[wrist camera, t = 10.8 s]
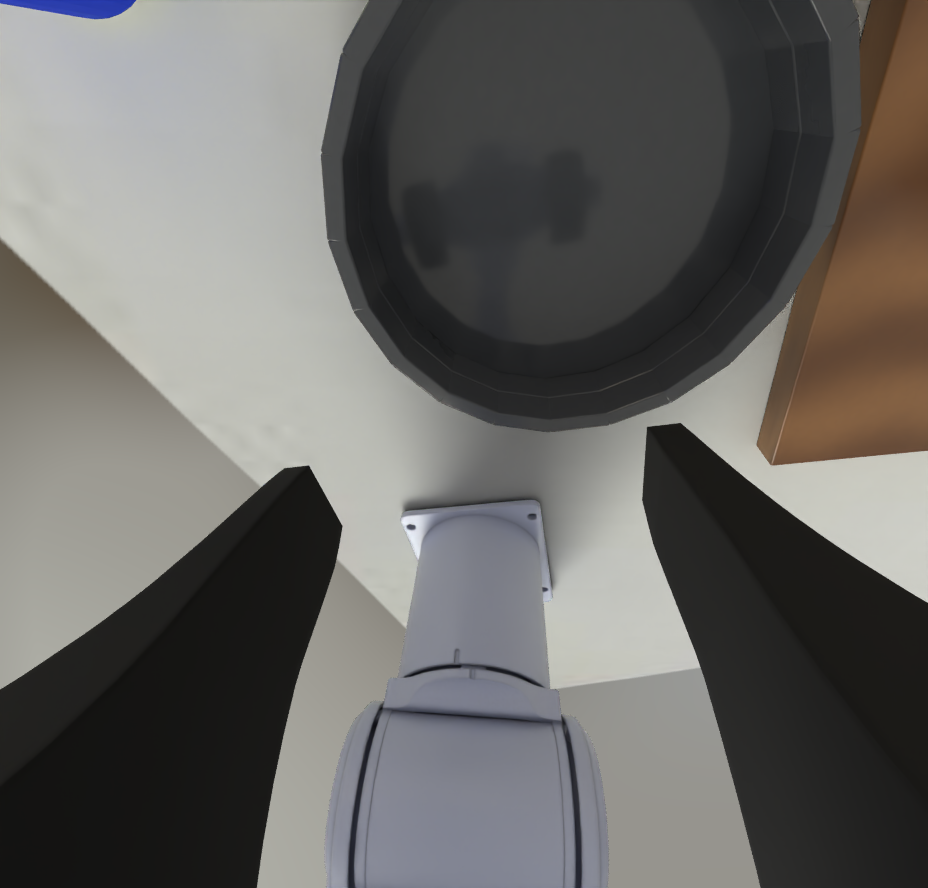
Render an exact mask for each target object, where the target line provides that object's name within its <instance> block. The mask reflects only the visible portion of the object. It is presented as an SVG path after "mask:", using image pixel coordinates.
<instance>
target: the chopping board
mask: <svg viewBox="0 0 928 888" xmlns="http://www.w3.org/2000/svg"><path fill="white" fill-rule="evenodd" d="M860 81H861V122H862V125H861V127H860V129H861V132H860V135H859V139H858V142H857V146H856V149H855V153H854V156H853V160H852V163H851V167H850V170H849V174H848V177H847V181H846V184H845V188H844V191H843V195H842V199H841V202H840V206H839V209H838V213H837V216H836V220H835V223H834V225H832V226H833V227H832V230H831V231H830V233H829V235H828V236H827V238H826V240H825V241H824V243H823V245H822V247H821V248H820V250H819V252H818V253H817V255H816V257H815V258H814V260H813V262H812V263H811V265H810V267H809V269H808V270H807V272H806V274H805V275H804V277H803V279H802V280H801V282H800V284H799V286H798V287H797V291H796V295H795V298H794V302H793V306H792V310H791V314H790V318H789V322H788V326H787V329H786V333H785V337H784V341H783V345H782V349H781V353H780V357H779V360H778V364H777V368H776V372H775V376H774V380H773V384H772V388H771V392H770V395H769V399H768V403H767V407H766V411H765V415H764V419H763V423H762V426H761V430H760V434H759V438H758V442H757V447H758V448H759V450H760V451H761V452H762V454H763V455H764V457H765V458H766V459H767V461H768V462H769V464H770V465H783V464H793V463H803V462H814V461H824V460H835V459H845V458H855V457H866V456H876V455H887V454H897V453H908V452H918V451H928V0H871V4H870V7H869V11H868V15H867V19H866V23H865V27H864V31H863V35H862V38H861V42H860Z"/></svg>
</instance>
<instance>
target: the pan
mask: <svg viewBox="0 0 928 888" xmlns="http://www.w3.org/2000/svg"><path fill="white" fill-rule="evenodd" d="M858 17H859V15H858V13H857V10H856V8H855V6H854V3H853V1H852V0H369V1H368V3H367V5H366V6H365V8H364V10H363V12H362V14H361V16H360V18H359V19H358V21H357V23H356V25H355V27H354V29H353V30H352V32H351V34H350V36H349V38H348V40H347V42H346V43H345V45H344V47H343V53H341V55H340V60H339V65H338V70H337V75H336V80H335V85H334V90H333V95H332V100H331V104H330V109H329V114H328V119H327V124H326V129H325V134H324V139H323V144H322V148H321V151H322V154H321V163H322V176H323V189H324V202H325V215H326V228H327V239H328V240H329V241H328V243H329V246H330V249H331V251H332V254H333V257H334V260H335V262H336V265H337V268H338V271H339V273H340V276H341V279H342V281H343V284H344V287H345V290H346V292H347V295H348V298H349V300H350V303H351V306H352V309H353V311H354V313H355V315H356V316H357V318H358V319H359V320H360V322H361V323H362V324H363V326H364V327H365V329H366V330H367V331H368V333H369V334H370V335H371V337H372V338H373V340H374V341H375V342H376V344H377V345H378V346H379V348H380V349H381V351H382V352H383V353H384V355H385V356H386V357H387V359H388V360H389V362H390V363H391V364H392V365H393V366H394V367H395V368H396V369H398V370H399V371H400V372H402V373H403V374H404V375H405V376H407V377H408V378H409V379H410V380H412V381H413V382H414V383H416V384H417V385H418V386H419V387H421V388H422V389H423V390H424V391H426V392H427V393H428V394H430V395H431V396H432V397H433V398H435V399H436V400H437V401H438V402H441V403H442V404H445V405H447V406H449V407H452V408H454V409H457V410H459V411H461V412H464V413H466V414H469V415H471V416H474V417H476V418H478V419H481V420H483V421H486V422H488V423H490V424H493V425H498V426H506V427H513V428H521V429H528V430H536V431H543V432H556V431H564V430H573V429H581V428H590V427H598V426H607V425H609V424H610V425H611V424H614V423H617V422H620V421H622V420H625V419H628V418H630V417H633V416H636V415H639V414H641V413H644V412H647V411H649V410H652V409H655V408H658V407H660V406H663V405H666V404H668V403H670V402H673V401H674V400H676V399H678V398H679V397H681V396H682V395H684V394H685V393H687V392H688V391H690V390H691V389H693V388H694V387H696V386H697V385H699V384H700V383H702V382H703V381H705V380H707V379H708V378H710V377H711V376H713V375H714V374H716V373H717V372H719V371H720V370H722V369H723V368H725V367H726V366H728V365H729V364H730V362H733V361H734V360H735V358H736V357H737V356H738V355H739V354H740V353H741V352H742V351H743V350H744V349H745V348H746V347H747V346H748V345H749V344H750V343H751V342H752V341H753V340H754V339H755V338H756V337H757V336H758V335H759V333H760V332H761V331H762V330H763V329H764V328H765V327H766V326H767V325H768V324H769V323H770V322H771V321H772V320H773V319H774V318H775V317H776V316H777V315H778V314H779V313H780V312H781V311H782V310H783V309H784V307H785V306H786V304H787V303H788V302H789V301H790V299H791V297H792V296H793V294H794V292H795V291H796V289H797V287H798V286H799V284H800V282H801V280H802V279H803V277H804V275H805V274H806V272H807V270H808V269H809V267H810V265H811V263H812V262H813V260H814V258H815V257H816V255H817V253H818V252H819V250H820V248H821V247H822V245H823V243H824V241H825V240H826V238H827V236H828V235H829V233H830V231H831V230H832V227H833V226H832V225H834V223H835V220H836V216H837V213H838V209H839V206H840V202H841V199H842V195H843V191H844V188H845V184H846V181H847V177H848V174H849V170H850V167H851V163H852V160H853V156H854V153H855V149H856V146H857V142H858V139H859V135H860V132H861V129H860V127H861V125H862V122H861V81H860V40H859V20H858V19H857V18H858Z"/></svg>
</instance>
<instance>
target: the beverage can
mask: <svg viewBox="0 0 928 888" xmlns="http://www.w3.org/2000/svg"><path fill="white" fill-rule="evenodd" d="M135 1H136V0H0V3H2V4H7V5H13V6H19V7H25V8H30V9H36V10H42V11H48V12H53V13H59V14H65V15H71V16H76V17H82V18H90V19H104V18H110V17H113V16H116V15H119V14H121V13H122V12H124V11H125V10H127V9H128V8H129V7H131V6H132V5H133V3H134V2H135Z"/></svg>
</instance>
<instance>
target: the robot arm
mask: <svg viewBox="0 0 928 888" xmlns="http://www.w3.org/2000/svg"><path fill="white" fill-rule="evenodd" d="M642 501H643V505H644V509H645V513H646V517H647V521H648V525H649V529H650V533H651V537H652V541H653V544H654V547H655V550H656V553H657V555H658V558H659V560H660V563H661V566H662V568H663V571H664V573H665V576H666V578H667V581H668V584H669V586H670V589H671V591H672V594H673V596H674V599H675V601H676V604H677V607H678V609H679V612H680V614H681V617H682V619H683V622H684V624H685V627H686V629H687V632H688V635H689V637H690V640H691V642H692V645H693V647H694V650H695V652H696V655H697V658H698V661H699V664H700V667H701V670H702V673H703V675H704V678H705V682H706V685H707V689H708V692H709V696H710V699H711V702H712V706H713V710H714V713H715V717H716V720H717V723H718V727H719V731H720V734H721V738H722V741H723V745H724V749H725V752H726V756H727V760H728V763H729V767H730V771H731V774H732V778H733V781H734V785H735V789H736V793H737V796H738V800H739V804H740V808H741V812H742V816H743V819H744V823H745V827H746V831H747V835H748V839H749V843H750V847H751V851H752V855H753V859H754V862H755V866H756V870H757V874H758V879H759V883H760V887H761V888H928V603H927V602H925V601H924V600H922V599H920V598H918V597H917V596H915V595H913V594H912V593H910V592H908V591H907V590H905V589H904V588H902V587H900V586H899V585H897V584H895V583H894V582H892V581H891V580H889V579H887V578H886V577H884V576H883V575H881V574H879V573H878V572H876V571H875V570H873V569H871V568H870V567H868V566H867V565H865V564H863V563H862V562H860V561H859V560H857V559H855V558H854V557H852V556H851V555H849V554H848V553H846V552H845V551H843V550H842V549H840V548H839V547H837V546H836V545H834V544H833V543H831V542H830V541H829V540H827V539H826V538H824V537H823V536H821V535H820V534H819V533H817V532H816V531H814V530H813V529H812V528H810V527H809V526H807V525H806V524H805V523H803V522H802V521H800V520H799V519H798V518H796V517H795V516H794V515H792V514H791V513H790V512H788V511H787V510H786V509H784V508H783V507H782V506H780V505H779V504H778V503H776V502H775V501H774V500H772V499H771V498H770V497H769V496H767V495H766V494H765V493H764V492H762V491H761V490H760V489H759V488H757V487H756V486H755V485H753V484H752V483H751V482H750V481H748V480H747V479H746V478H745V477H743V476H742V475H741V474H740V473H739V472H737V471H736V470H735V469H734V468H733V467H731V466H730V465H729V464H728V463H727V462H725V461H724V460H723V459H722V458H721V457H720V456H718V455H717V454H716V453H715V452H714V451H713V450H711V449H710V448H709V447H708V446H707V445H706V444H704V443H703V442H702V441H701V440H700V439H699V438H697V437H696V436H695V435H694V434H693V433H692V432H691V431H689V430H688V429H687V428H686V427H685V426H683V425H682V424H681V423H678V424H669V425H660V426H652V427H647V436H646V451H645V466H644V482H643V497H642ZM530 514H533V515H530ZM401 523H402V525H403V528H404V530H405V532H406V535H407V537H408V539H409V542H410V544H411V546H412V549H413V551H414V553H415V556H416V558H417V560H418V567H417V572H416V578H415V583H414V589H413V595H412V600H411V606H410V611H409V617H408V622H407V628H406V634H405V639H404V645H403V650H402V656H401V662H400V667H399V673H398V678H390V679H389V680H388V684H387V689H386V694H385V699H384V701H372V702H370V703H369V704H368V705H367V706H366V708H365V709H364V711H363V712H361V713H360V714H359V715H358V716H357V717H356V718H355V720H354V721H353V723H352V725H351V727H350V729H349V731H348V734H347V736H346V739H345V742H344V745H343V748H342V751H341V754H340V758H339V762H338V765H337V769H336V774H335V778H334V783H333V787H332V793H331V799H330V804H329V810H328V817H327V825H326V835H325V836H326V837H325V868H326V873H327V886H326V888H607V886H608V873H609V848H608V829H607V817H606V807H605V799H604V792H603V785H602V779H601V773H600V769H599V764H598V759H597V755H596V752H595V748H594V746H593V743H592V740H591V738H590V736H589V735H588V733H587V732H586V731H585V730H584V729H583V728H582V726H581V725H580V723H579V722H578V720H577V719H576V717H574V716H572V715H562V714H561V708H560V697H559V691H558V690H556V689H550V679H549V667H548V654H547V641H546V629H545V616H544V604H543V602H549V601H551V600H552V598H553V594H552V587H551V580H550V572H549V565H548V558H547V551H546V544H545V536H544V529H543V522H542V515H541V508H540V504H539V502H538V501H536V500H520V501H509V502H499V503H488V504H477V505H466V506H455V507H444V508H433V509H422V510H411V511H405V512H403V513H402V515H401ZM411 524H413V525H411ZM341 532H342V524H341V522H340V521H339V519H338V517H337V515H336V513H335V512H334V510H333V508H332V506H331V504H330V503H329V501H328V499H327V497H326V495H325V494H324V492H323V490H322V488H321V487H320V485H319V483H318V481H317V479H316V478H315V476H314V474H313V472H312V470H311V469H310V467H309V466H301V467H293V468H284V469H283V470H282V471H280V472H279V473H278V474H277V475H275V476H274V477H273V478H272V479H270V480H269V481H268V482H267V483H266V484H265V485H264V486H262V487H261V488H260V489H259V490H258V491H257V492H256V493H255V494H253V495H252V496H251V497H250V498H249V499H248V500H247V501H246V502H245V503H243V504H242V505H241V506H240V507H239V508H238V509H237V510H236V511H235V512H234V513H233V514H231V515H230V516H229V517H228V518H227V519H226V520H225V521H224V522H222V523H221V524H220V525H219V526H218V527H217V528H216V529H215V530H214V531H213V532H211V533H210V534H209V535H208V536H207V537H206V538H205V539H204V540H203V541H201V542H200V543H199V544H198V545H197V546H195V547H194V548H193V549H192V550H191V551H190V552H188V553H187V554H186V555H185V556H184V557H183V558H181V559H180V560H179V561H178V562H177V563H175V564H174V565H173V566H172V567H171V568H170V569H168V570H167V571H166V572H165V573H164V574H162V575H161V576H160V577H159V578H158V579H157V580H155V581H154V582H153V583H152V584H150V585H149V586H148V587H147V588H145V589H144V590H143V591H142V592H140V593H139V594H138V595H136V596H135V597H134V598H133V599H131V600H130V601H129V602H127V603H126V604H125V605H124V606H122V607H121V608H119V609H118V610H117V611H115V612H114V613H113V614H111V615H110V616H109V617H107V618H106V619H105V620H103V621H102V622H101V623H99V624H98V625H96V626H95V627H94V628H92V629H91V630H89V631H88V632H87V633H85V634H84V635H82V636H81V637H79V638H78V639H76V640H75V641H73V642H72V643H70V644H69V645H68V646H66V647H64V648H63V649H62V650H60V651H58V652H57V653H56V654H54V655H53V656H51V657H50V658H48V659H47V660H45V661H44V662H42V663H41V664H39V665H38V666H36V667H35V668H33V669H32V670H30V671H29V672H27V673H26V674H24V675H23V676H21V677H20V678H18V679H17V680H15V681H13V682H12V683H10V684H9V685H7V686H5V687H4V688H2V689H0V888H257V882H258V874H259V868H260V860H261V853H262V846H263V840H264V834H265V828H266V823H267V817H268V811H269V806H270V800H271V794H272V789H273V783H274V778H275V774H276V769H277V764H278V759H279V754H280V750H281V745H282V740H283V735H284V731H285V726H286V722H287V718H288V714H289V710H290V706H291V701H292V697H293V693H294V689H295V685H296V681H297V678H298V675H299V671H300V668H301V665H302V662H303V659H304V656H305V653H306V650H307V647H308V644H309V641H310V638H311V636H312V633H313V630H314V627H315V624H316V621H317V618H318V615H319V613H320V609H321V607H322V604H323V601H324V598H325V595H326V592H327V589H328V586H329V583H330V580H331V577H332V574H333V570H334V567H335V563H336V558H337V554H338V549H339V543H340V538H341Z"/></svg>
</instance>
